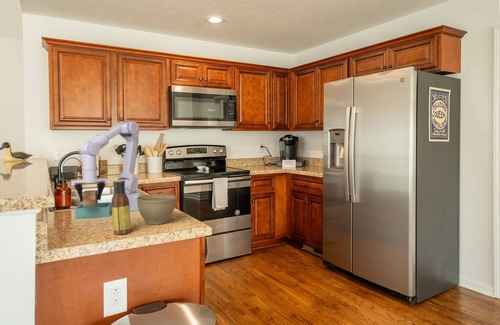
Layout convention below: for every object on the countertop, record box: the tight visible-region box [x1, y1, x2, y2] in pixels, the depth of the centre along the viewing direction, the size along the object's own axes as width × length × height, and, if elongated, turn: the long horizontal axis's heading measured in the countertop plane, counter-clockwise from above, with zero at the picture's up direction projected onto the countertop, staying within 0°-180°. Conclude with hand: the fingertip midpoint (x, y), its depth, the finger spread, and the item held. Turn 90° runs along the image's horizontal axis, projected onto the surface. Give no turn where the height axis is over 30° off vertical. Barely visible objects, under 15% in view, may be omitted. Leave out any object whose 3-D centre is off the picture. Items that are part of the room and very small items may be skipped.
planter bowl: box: [137, 193, 177, 225], centre depth 146 cm, size 16×16×11 cm
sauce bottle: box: [111, 180, 132, 236], centre depth 128 cm, size 6×6×20 cm
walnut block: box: [82, 189, 99, 206], centre depth 150 cm, size 5×5×6 cm
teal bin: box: [74, 201, 112, 219], centre depth 160 cm, size 14×12×4 cm
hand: (90, 200), depth 150 cm, fingers closed on walnut block, 6 cm apart
